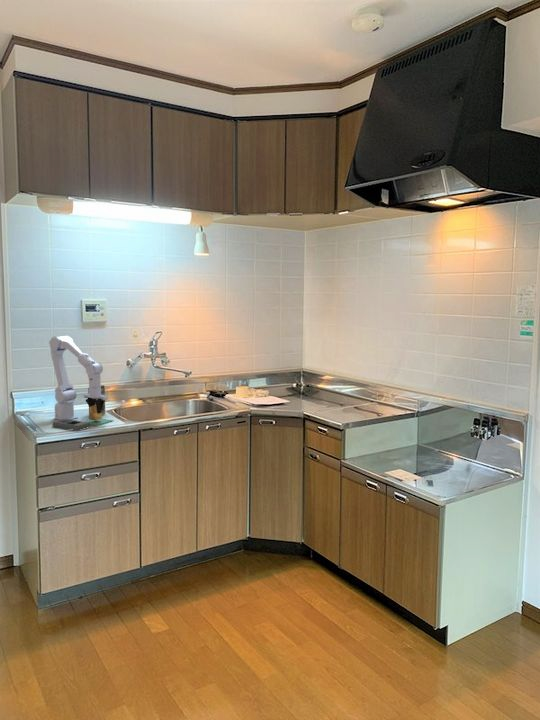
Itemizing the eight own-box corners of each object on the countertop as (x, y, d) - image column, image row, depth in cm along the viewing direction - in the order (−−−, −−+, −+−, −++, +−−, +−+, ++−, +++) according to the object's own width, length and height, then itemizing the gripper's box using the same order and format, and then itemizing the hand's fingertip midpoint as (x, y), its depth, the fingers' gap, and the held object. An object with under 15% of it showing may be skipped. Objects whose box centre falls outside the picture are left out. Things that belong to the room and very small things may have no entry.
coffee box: (100, 417, 294) (99, 388, 292) (88, 417, 294) (87, 387, 292) (106, 413, 303) (104, 385, 301) (94, 413, 303) (93, 385, 301)
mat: (79, 423, 281) (78, 422, 281) (96, 418, 291) (96, 417, 291) (96, 426, 275) (96, 425, 275) (113, 421, 286) (113, 420, 286)
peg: (90, 419, 282) (89, 406, 281) (95, 418, 285) (95, 404, 285) (95, 420, 280) (95, 407, 279) (101, 418, 284) (101, 405, 283)
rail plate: (52, 426, 274) (52, 421, 274) (65, 423, 281) (65, 418, 281) (77, 431, 266) (77, 425, 266) (89, 427, 273) (89, 422, 273)
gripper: (78, 386, 281) (79, 412, 282) (99, 389, 274) (100, 415, 276) (88, 384, 287) (89, 410, 289) (109, 386, 280) (110, 412, 282)
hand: (96, 412), depth 283 cm, fingers closed on peg, 4 cm apart
